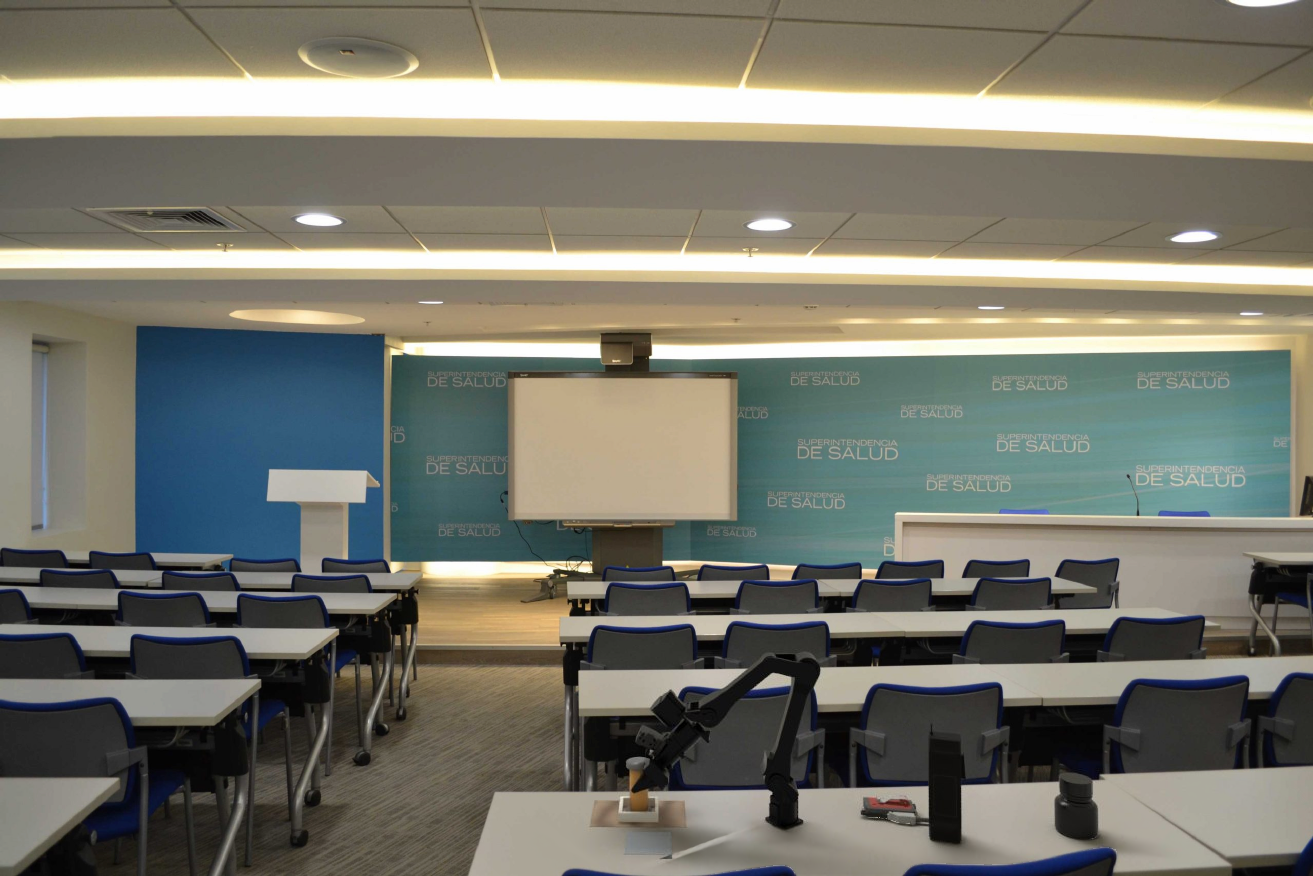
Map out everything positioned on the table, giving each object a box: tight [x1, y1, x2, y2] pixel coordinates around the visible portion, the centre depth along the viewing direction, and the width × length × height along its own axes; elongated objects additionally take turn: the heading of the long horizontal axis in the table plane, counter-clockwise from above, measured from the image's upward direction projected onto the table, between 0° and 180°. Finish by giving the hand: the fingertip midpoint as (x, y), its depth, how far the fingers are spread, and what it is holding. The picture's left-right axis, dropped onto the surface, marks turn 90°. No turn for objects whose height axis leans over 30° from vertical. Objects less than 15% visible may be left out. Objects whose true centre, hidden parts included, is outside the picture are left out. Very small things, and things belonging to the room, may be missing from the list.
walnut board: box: [589, 799, 687, 828], centre depth 188 cm, size 22×14×1 cm, turn 90°
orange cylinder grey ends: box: [625, 756, 652, 812], centre depth 188 cm, size 6×6×12 cm
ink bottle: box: [1053, 772, 1099, 840], centre depth 182 cm, size 10×9×12 cm
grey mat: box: [624, 831, 673, 860], centre depth 173 cm, size 10×10×1 cm
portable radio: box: [927, 723, 967, 845], centre depth 179 cm, size 8×6×25 cm
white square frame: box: [618, 795, 659, 822], centre depth 188 cm, size 9×9×2 cm
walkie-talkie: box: [860, 794, 929, 826], centre depth 189 cm, size 9×4×20 cm
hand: (633, 787), depth 188 cm, fingers closed on orange cylinder grey ends, 5 cm apart
